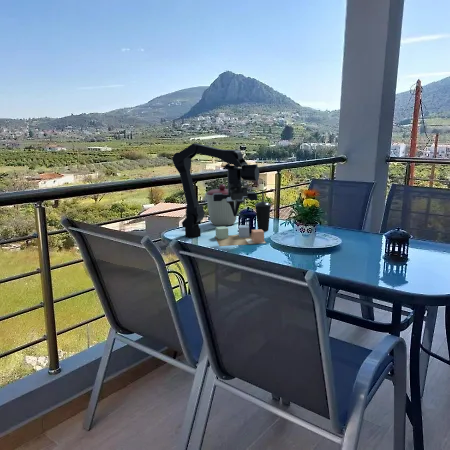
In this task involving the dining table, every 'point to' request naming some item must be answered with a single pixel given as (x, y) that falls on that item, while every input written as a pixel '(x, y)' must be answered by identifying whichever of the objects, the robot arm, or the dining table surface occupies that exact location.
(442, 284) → the dining table surface
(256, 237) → the terracotta block
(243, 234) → the slate block
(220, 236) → the sage block
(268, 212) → the drinking cup
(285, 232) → the dining table surface
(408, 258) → the dining table surface
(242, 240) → the board
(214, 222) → the canister
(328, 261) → the dining table surface
